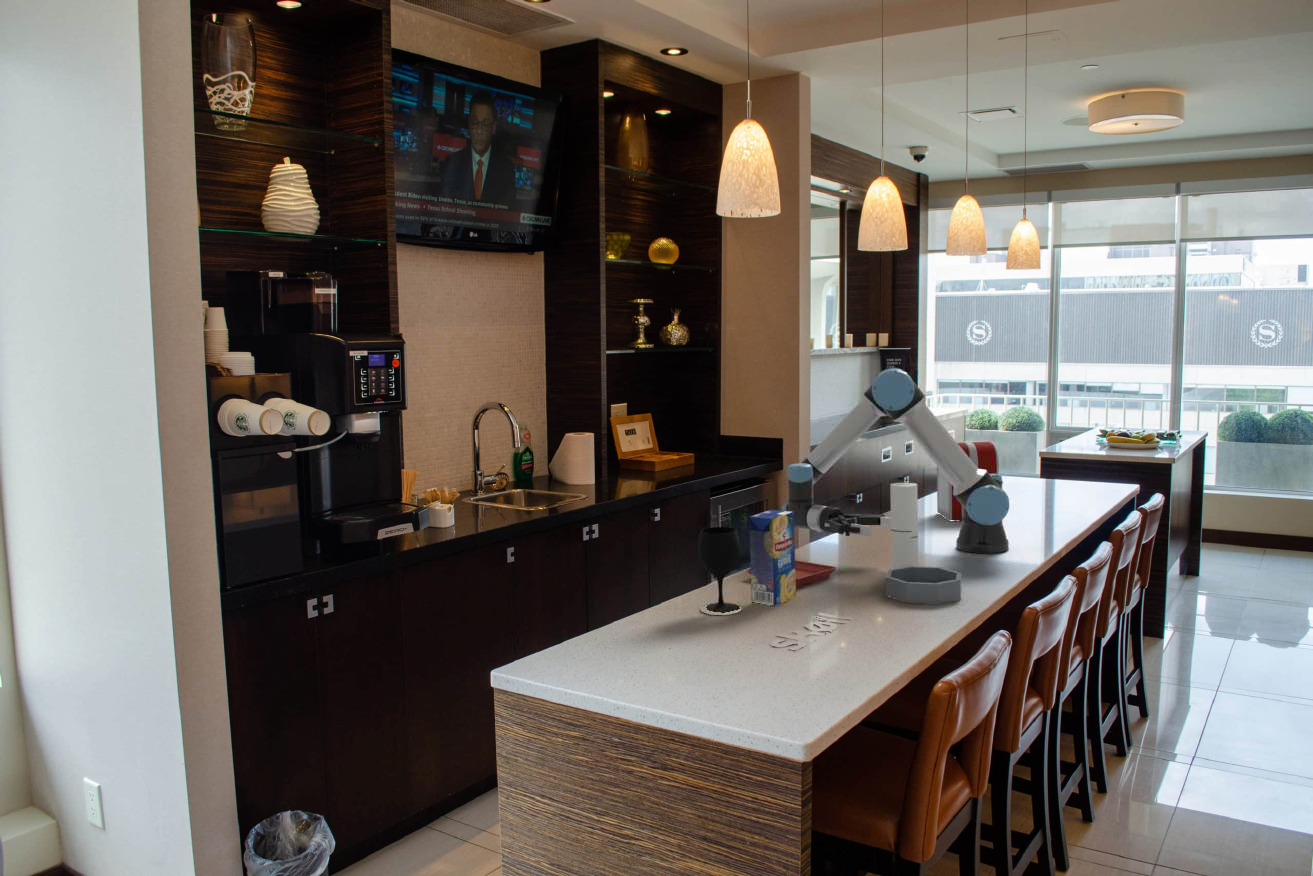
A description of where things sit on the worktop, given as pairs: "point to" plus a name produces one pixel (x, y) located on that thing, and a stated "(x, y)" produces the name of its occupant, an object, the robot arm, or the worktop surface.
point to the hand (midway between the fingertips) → (885, 527)
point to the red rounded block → (983, 458)
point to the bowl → (924, 585)
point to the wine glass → (719, 559)
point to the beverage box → (772, 557)
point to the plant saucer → (809, 572)
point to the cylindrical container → (904, 525)
